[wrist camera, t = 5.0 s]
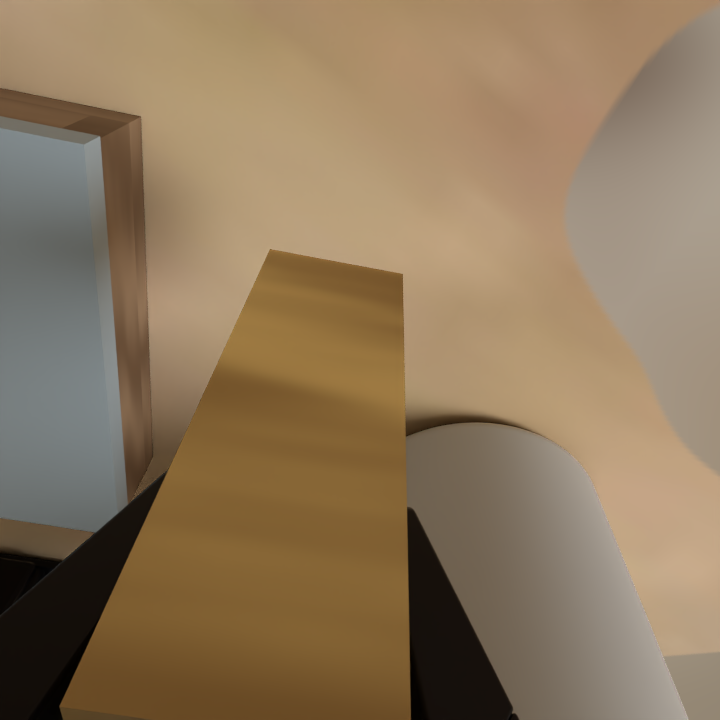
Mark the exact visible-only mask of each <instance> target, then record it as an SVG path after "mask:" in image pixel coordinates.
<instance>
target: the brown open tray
mask: <svg viewBox="0 0 720 720" xmlns="http://www.w3.org/2000/svg"><path fill="white" fill-rule="evenodd" d="M0 116H2V117H7V118H12V119H17V120H22V121H27V122H32V123H37V124H42V125H47V126H52V127H57V128H62V129H67V130H72V131H77V132H82V133H87V134H92V135H97V136H100V141H101V154H102V168H103V181H104V194H105V208H106V221H107V234H108V247H109V261H110V274H111V287H112V300H113V314H114V327H115V340H116V353H117V367H118V380H119V393H120V406H121V420H122V433H123V446H124V460H125V473H126V486H127V499H128V504H129V503H130V501H131V499H132V497H133V495H134V493H135V491H136V489H137V487H138V485H139V483H140V481H141V479H142V477H143V475H144V473H145V471H146V469H147V467H148V465H149V463H150V461H151V459H152V457H153V448H152V419H151V391H150V363H149V334H148V306H147V278H146V249H145V221H144V193H143V164H142V136H141V117H139V116H134V115H130V114H125V113H120V112H115V111H110V110H105V109H100V108H95V107H90V106H85V105H80V104H75V103H70V102H66V101H61V100H56V99H51V98H46V97H41V96H36V95H31V94H26V93H21V92H16V91H11V90H6V89H1V88H0Z"/></svg>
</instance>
